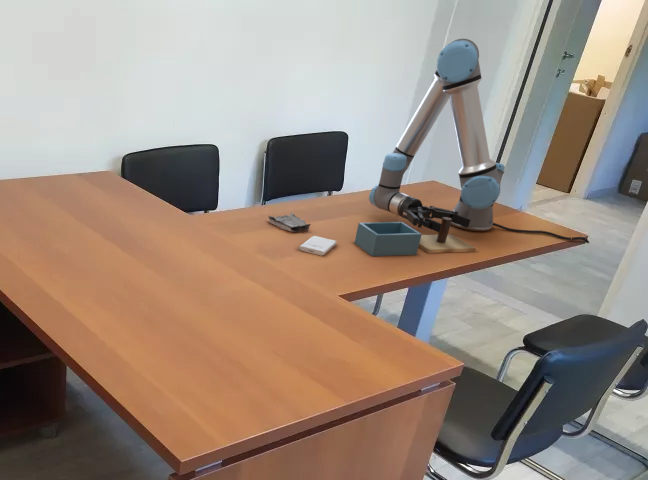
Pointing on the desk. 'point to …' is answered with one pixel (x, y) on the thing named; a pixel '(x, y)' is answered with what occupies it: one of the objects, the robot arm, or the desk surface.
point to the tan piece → (444, 241)
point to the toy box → (387, 238)
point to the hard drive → (317, 245)
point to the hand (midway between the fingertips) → (454, 225)
